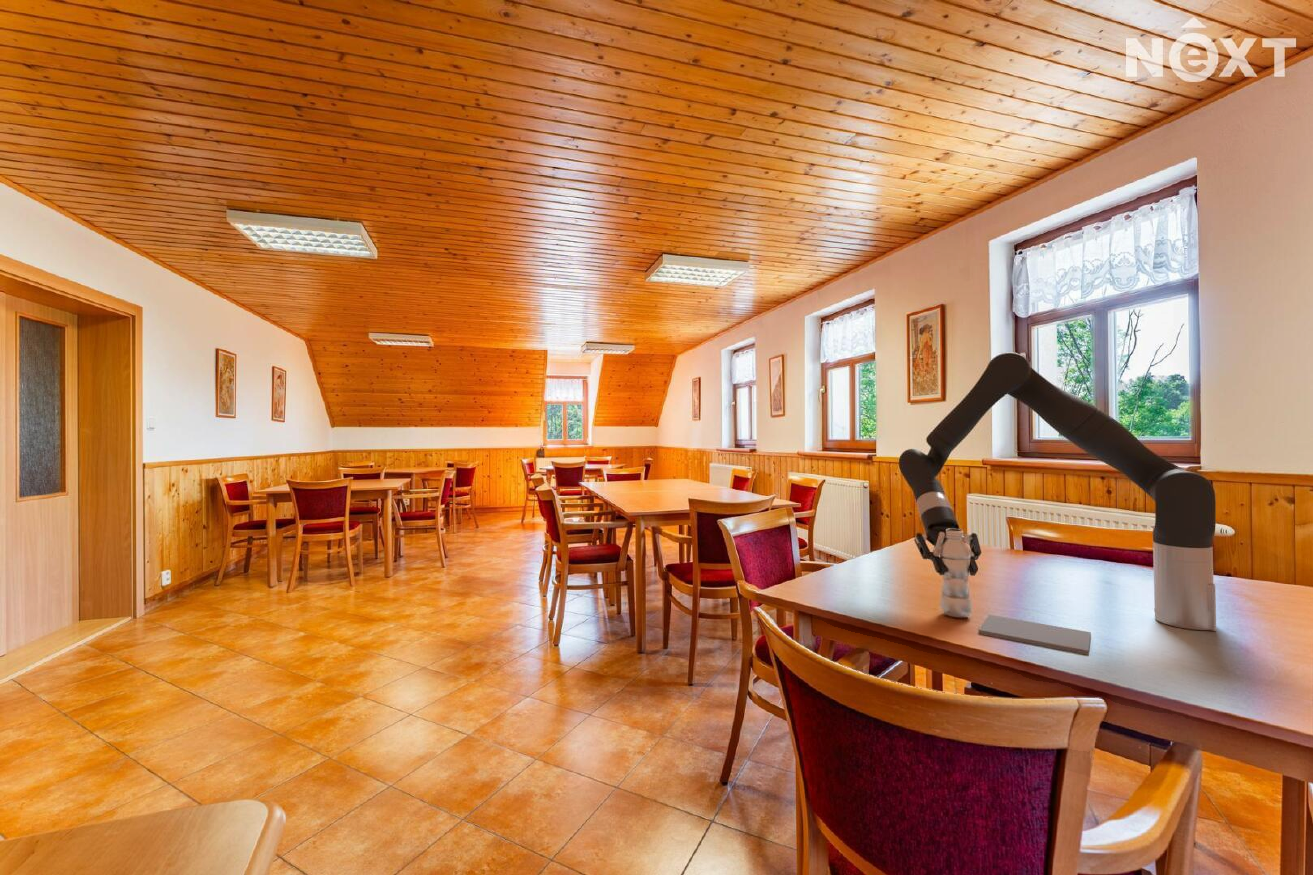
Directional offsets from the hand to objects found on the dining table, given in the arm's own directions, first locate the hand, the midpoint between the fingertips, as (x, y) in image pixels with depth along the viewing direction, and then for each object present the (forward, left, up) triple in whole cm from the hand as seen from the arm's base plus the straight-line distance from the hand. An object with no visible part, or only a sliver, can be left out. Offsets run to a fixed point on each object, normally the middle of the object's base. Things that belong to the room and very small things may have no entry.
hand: (958, 573), depth 121 cm
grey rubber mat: (-14, +2, -10) cm, 18 cm away
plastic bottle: (+1, -1, -11) cm, 11 cm away
